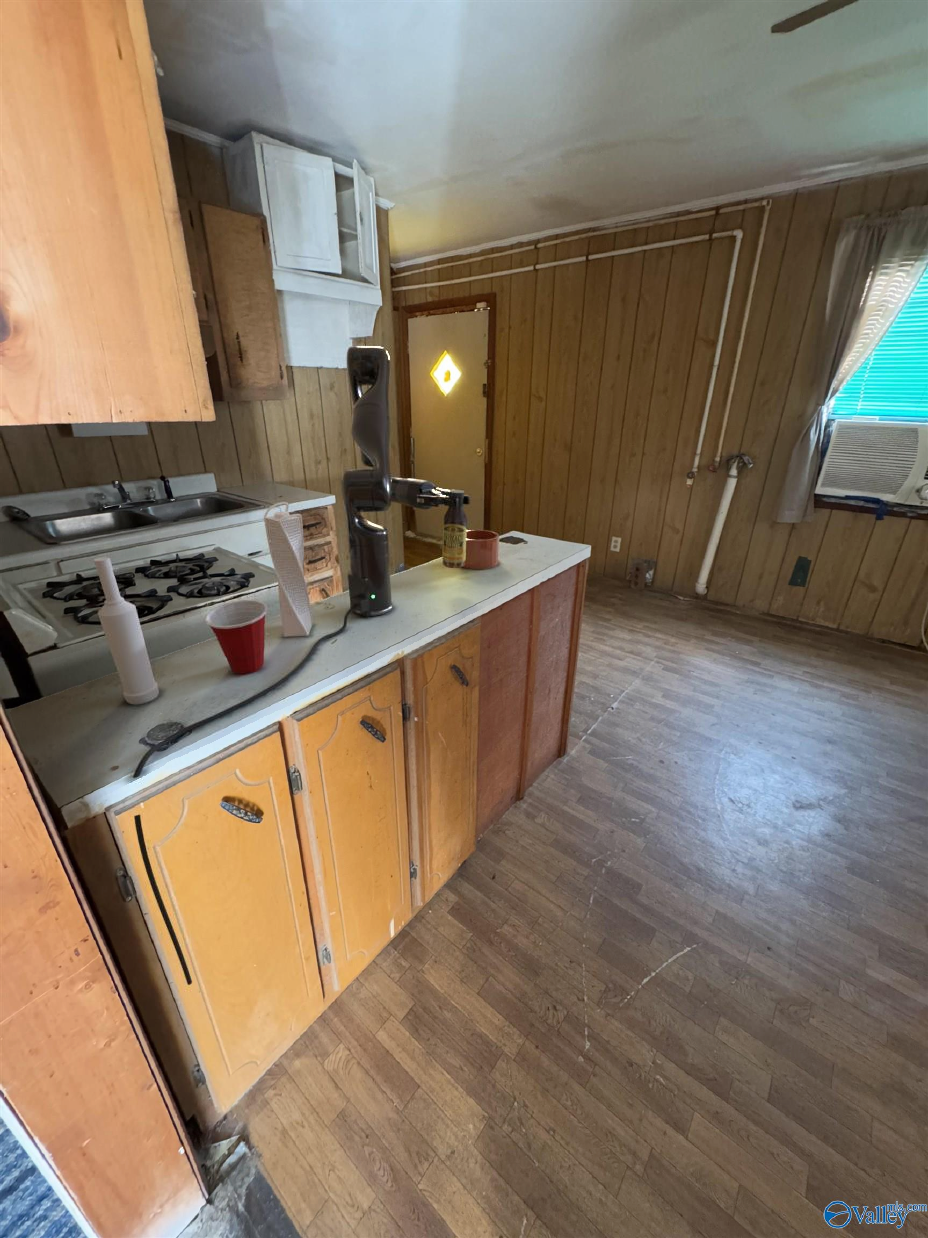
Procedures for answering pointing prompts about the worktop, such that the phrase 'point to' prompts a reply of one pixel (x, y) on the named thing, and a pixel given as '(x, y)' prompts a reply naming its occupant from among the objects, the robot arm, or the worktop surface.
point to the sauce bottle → (455, 533)
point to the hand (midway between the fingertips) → (463, 501)
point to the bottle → (125, 639)
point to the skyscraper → (289, 570)
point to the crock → (481, 549)
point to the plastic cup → (240, 633)
